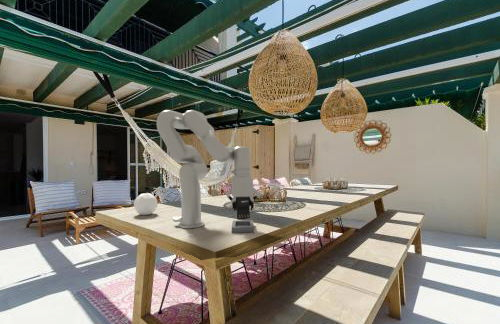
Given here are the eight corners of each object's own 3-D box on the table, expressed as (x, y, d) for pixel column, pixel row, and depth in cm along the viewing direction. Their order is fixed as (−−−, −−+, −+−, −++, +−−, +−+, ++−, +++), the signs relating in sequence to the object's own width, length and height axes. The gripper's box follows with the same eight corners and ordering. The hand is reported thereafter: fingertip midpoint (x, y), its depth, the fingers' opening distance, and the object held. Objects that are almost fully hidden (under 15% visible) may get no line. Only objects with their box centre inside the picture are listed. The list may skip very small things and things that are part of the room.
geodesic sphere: (147, 201, 169) (138, 186, 161) (165, 202, 166) (157, 187, 157) (135, 219, 158) (125, 203, 150) (154, 220, 155) (145, 204, 147)
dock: (231, 233, 117) (231, 227, 117) (233, 225, 130) (232, 220, 130) (253, 232, 117) (253, 227, 117) (253, 225, 130) (252, 220, 130)
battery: (238, 220, 120) (237, 195, 120) (235, 218, 124) (234, 194, 124) (251, 218, 123) (251, 194, 123) (248, 217, 127) (248, 193, 126)
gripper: (223, 173, 119) (224, 212, 120) (261, 172, 120) (261, 211, 120) (224, 172, 127) (225, 208, 127) (260, 171, 127) (261, 208, 127)
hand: (243, 209), depth 123 cm, fingers closed on battery, 7 cm apart
